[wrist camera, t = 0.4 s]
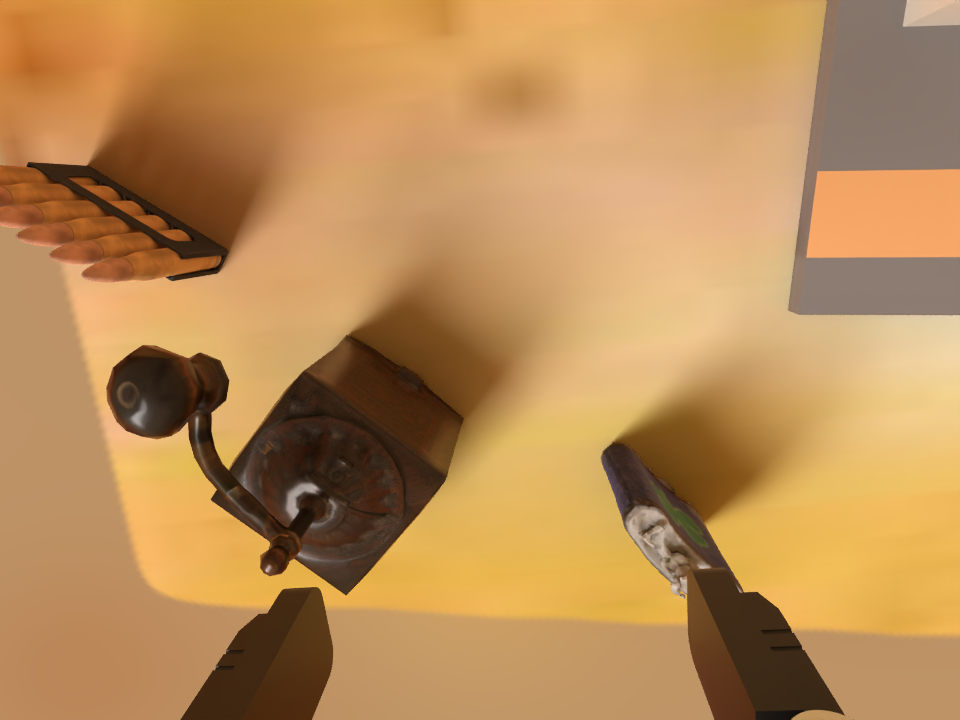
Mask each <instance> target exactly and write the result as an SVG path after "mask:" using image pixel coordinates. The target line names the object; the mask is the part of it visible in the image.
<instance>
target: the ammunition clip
mask: <svg viewBox="0 0 960 720" xmlns="http://www.w3.org/2000/svg"><path fill="white" fill-rule="evenodd" d="M0 226H5V227H12V228H26V229H24V230H22V231H20V232H19V233H18V234H17V235H16V238H17V239H18V240H20V241H22V242H25V243H29V244H33V245H39V246H61V247H59V248H57V249H55V250H53V251H52V252H51V253H50V254H49V258H51V259H52V260H54V261H57V262H62V263H67V264H92V263H93V264H94V265H92V266H90V267H88V268H87V269H86V270H84V271H83V273H82V274H81V276H82V277H83V278H85V279H87V280H90V281H95V282H104V283H106V282H119V281H130V280H137V281H146V280H152V279H157V278H162V277H166V278H167V279H169V280H171V281H176V280H181V279H187V278H193V277H199V276H205V275H211V274H217V273H218V272H219V270H220V268H221V266H222V264H223V262H224V259H225V257H226V255H227V253H228V251H227V249H225V248H224V247H222V246H220V245H219V244H217V243H215V242H214V241H212V240H210V239H209V238H207V237H206V236H204V235H202V234H201V233H199V232H197V231H196V230H194V229H192V228H191V227H189V226H187V225H186V224H184V223H182V222H181V221H179V220H177V219H176V218H174V217H172V216H171V215H169V214H167V213H166V212H164V211H162V210H161V209H159V208H157V207H156V206H154V205H152V204H151V203H149V202H147V201H146V200H144V199H142V198H141V197H139V196H137V195H136V194H134V193H132V192H131V191H129V190H127V189H126V188H124V187H122V186H121V185H119V184H117V183H116V182H114V181H113V180H111V179H109V178H108V177H106V176H104V175H103V174H101V173H99V172H98V171H96V170H94V169H93V168H91V167H89V166H81V165H65V164H49V163H33V162H28V164H27V167H16V166H2V165H0Z"/></svg>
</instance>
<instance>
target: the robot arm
mask: <svg viewBox="0 0 960 720" xmlns="http://www.w3.org/2000/svg"><path fill="white" fill-rule="evenodd" d="M687 606H688V636H689V644H690V649H691V654H692V658H693V662H694V665H695V668H696V670H697V673H698V676H699V679H700V681H701V684H702V687H703V689H704V692H705V695H706V698H707V700H708V703H709V706H710V709H711V711H712V714H713V717H714V719H715V720H853V719H851V718H849V717H847V716H845V715H844V713H843V711H842V710H841V708H840V707H839V705H838V703H837V702H836V700H835V699H834V697H833V696H832V694H831V692H830V691H829V689H828V688H827V686H826V684H825V683H824V681H823V679H822V678H821V676H820V675H819V673H818V671H817V670H816V668H815V666H814V665H813V663H812V662H811V660H810V658H809V657H808V656H807V654H806V652H805V650H802V646H801V644H800V642H799V641H798V639H797V638H796V636H795V634H794V633H792V631H791V628H790V626H789V625H788V623H787V621H786V620H785V618H784V617H783V615H782V613H781V612H780V610H779V609H778V608H777V607H776V606H774V605H773V604H772V603H771V602H769V601H768V600H767V599H766V598H764V597H763V596H762V595H760V594H759V593H758V592H745V593H740V592H739V590H738V588H737V586H736V584H735V582H734V581H733V579H732V577H731V575H730V573H729V572H728V570H727V569H726V568H705V569H689V570H688V572H687ZM332 662H333V645H332V640H331V635H330V630H329V625H328V621H327V616H326V611H325V606H324V601H323V597H322V593H321V591H320V589H319V588H317V587H311V588H291V589H284V590H282V591H281V592H280V594H279V595H278V597H277V599H276V600H275V602H274V604H273V605H272V607H271V608H270V610H269V612H268V613H267V614H258V615H257V616H256V617H255V618H254V619H253V620H251V621H250V622H249V623H248V624H247V625H246V626H244V627H243V628H242V629H241V630H240V631H239V632H238V633H237V635H236V636H235V638H234V640H233V641H232V642H231V644H230V645H229V647H228V649H227V650H226V654H224V655H223V656H222V658H221V659H220V661H219V662H218V664H217V665H216V669H215V670H213V671H212V673H211V674H210V676H209V677H208V679H207V680H206V682H205V683H204V685H203V686H202V688H201V690H200V691H199V692H198V694H197V696H196V697H195V699H194V700H193V702H192V703H191V705H190V706H189V708H188V709H187V711H186V712H185V714H184V715H183V717H182V718H181V720H312V718H313V715H314V713H315V710H316V708H317V706H318V703H319V700H320V698H321V696H322V693H323V691H324V688H325V686H326V684H327V681H328V678H329V676H330V673H331V668H332Z"/></svg>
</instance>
